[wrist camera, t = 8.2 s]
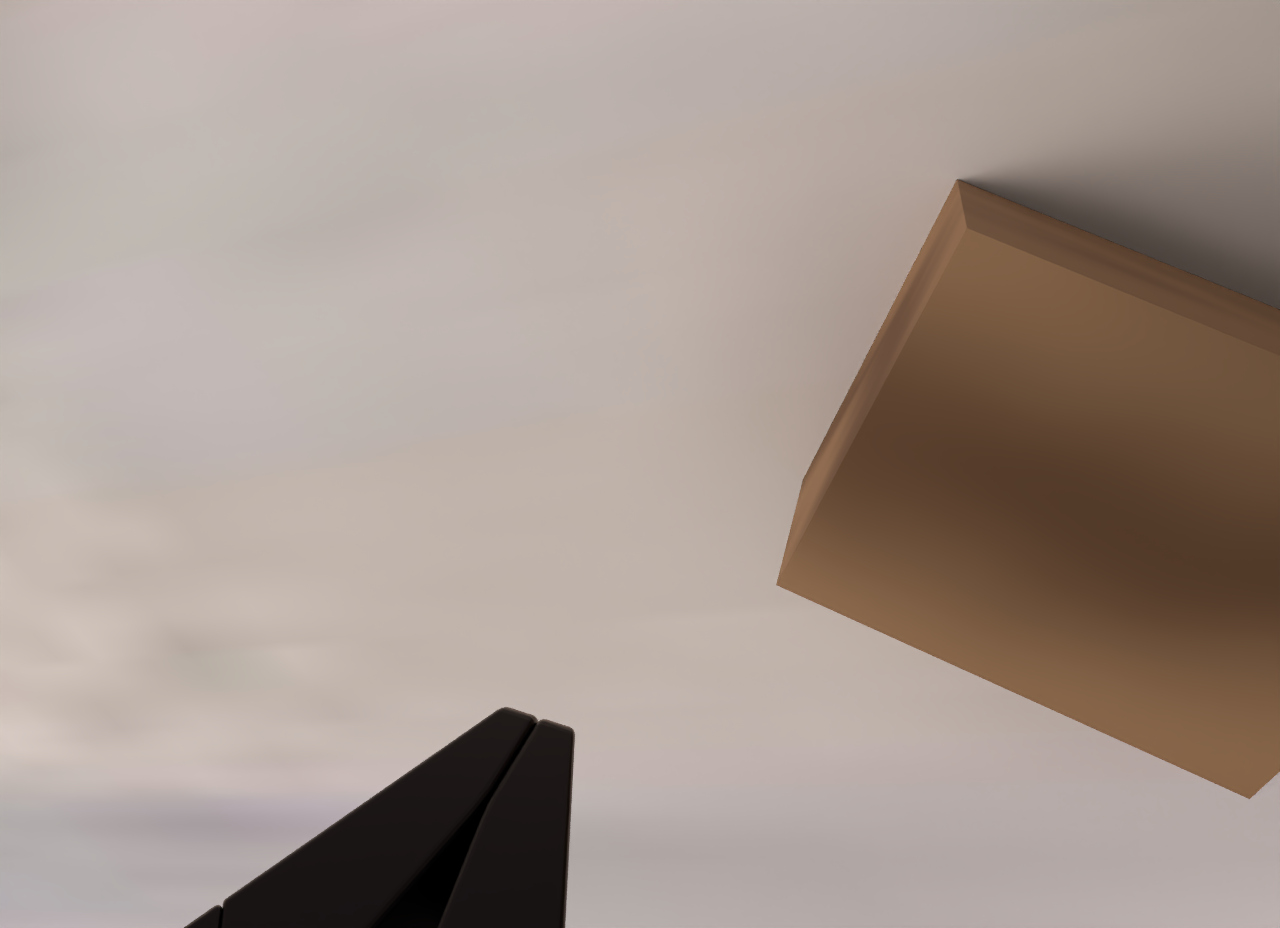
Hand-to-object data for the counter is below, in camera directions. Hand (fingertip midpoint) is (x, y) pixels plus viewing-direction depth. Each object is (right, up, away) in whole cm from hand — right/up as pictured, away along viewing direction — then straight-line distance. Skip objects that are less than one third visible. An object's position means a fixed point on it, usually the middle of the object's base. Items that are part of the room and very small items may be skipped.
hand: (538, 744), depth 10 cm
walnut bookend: (+10, +4, +8) cm, 14 cm away
